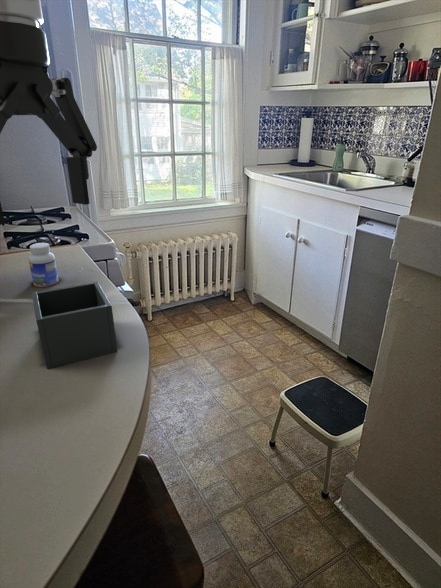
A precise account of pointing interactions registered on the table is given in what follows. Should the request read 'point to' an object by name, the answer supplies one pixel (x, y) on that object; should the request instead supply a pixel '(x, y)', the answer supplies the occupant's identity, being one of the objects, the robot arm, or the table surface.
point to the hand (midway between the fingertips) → (42, 212)
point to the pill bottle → (42, 265)
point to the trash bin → (74, 323)
